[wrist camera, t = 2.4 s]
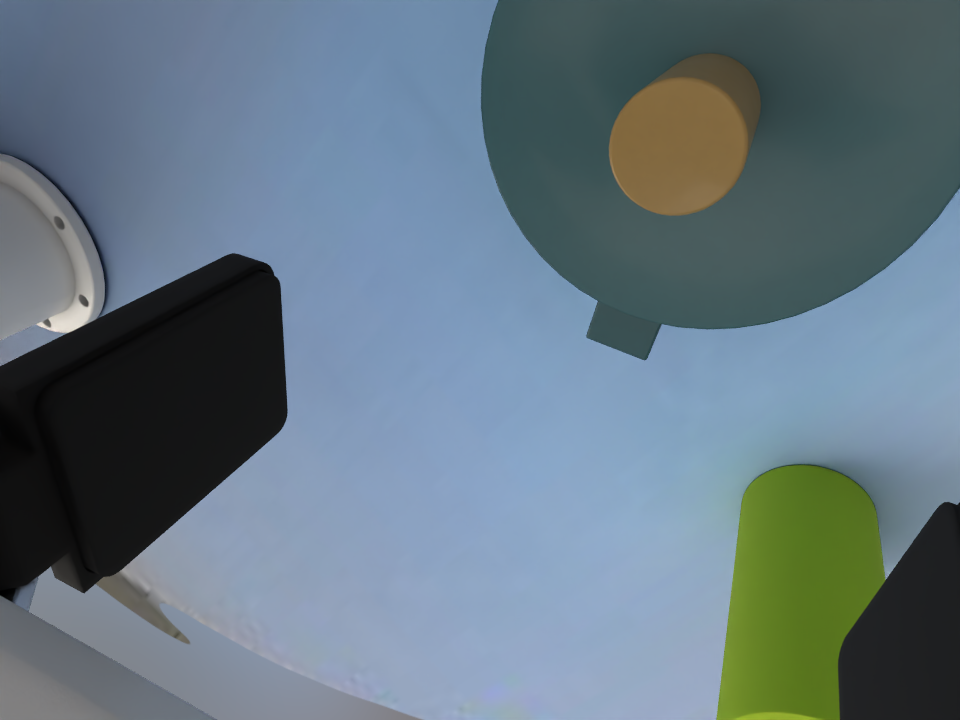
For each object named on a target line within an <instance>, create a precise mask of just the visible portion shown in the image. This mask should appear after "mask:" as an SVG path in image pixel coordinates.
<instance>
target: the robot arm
mask: <svg viewBox="0 0 960 720" xmlns="http://www.w3.org/2000/svg"><path fill="white" fill-rule="evenodd" d="M104 299H105V281H104V274H103V269H102V265H101V262H100V258H99V255H98V252H97V250H96V247H95V245H94V243H93V240H92V238H91V236H90V234H89V232H88V230H87V229H86V227H85V225H84V223H83V221H82V220H81V218H80V217H79V215H78V214H77V212H76V211H75V209H74V208H73V207H72V205H71V204H70V202H69V201H68V200H67V199H66V198H65V197H64V195H63V194H62V193H61V192H60V191H59V190H58V189H57V187H56V186H54V185H53V184H52V183H51V182H50V181H49V180H48V179H47V178H46V177H45V176H43V175H42V174H41V173H40V172H38V171H37V170H35V169H34V168H32V167H31V166H30V165H28V164H27V163H25V162H23V161H21V160H19V159H17V158H14V157H12V156H9V155H5V154H1V153H0V341H1V340H3V339H5V338H7V337H9V336H11V335H14V334H16V333H18V332H20V331H22V330H24V329H27V328H29V327H31V326H33V325H35V324H36V325H38V326H40V327H42V328H45V329H48V330H51V331H54V332H61V333H67V334H65V335H63V336H61V337H59V338H57V339H55V340H53V341H51V342H49V343H47V344H45V345H43V346H41V347H39V348H37V349H35V350H33V351H30V352H28V353H26V354H24V355H22V356H20V357H18V358H16V359H14V360H12V361H10V362H8V363H6V364H4V365H2V366H0V720H217V719H215V718H213V717H212V716H210V715H208V714H207V713H205V712H203V711H201V710H200V709H198V708H196V707H195V706H193V705H191V704H189V703H188V702H186V701H184V700H182V699H181V698H179V697H177V696H175V695H174V694H172V693H170V692H168V691H167V690H165V689H163V688H162V687H160V686H158V685H156V684H154V683H153V682H151V681H149V680H147V679H146V678H144V677H142V676H141V675H139V674H137V673H135V672H133V671H132V670H130V669H128V668H126V667H124V666H123V665H121V664H120V663H118V662H116V661H114V660H112V659H111V658H109V657H107V656H105V655H104V654H102V653H100V652H98V651H97V650H95V649H93V648H91V647H90V646H88V645H86V644H84V643H83V642H81V641H79V640H77V639H76V638H73V637H72V636H70V635H69V634H67V633H65V632H63V631H62V630H60V629H58V628H56V627H55V626H53V625H51V624H49V623H47V622H45V621H44V620H42V619H40V618H39V617H37V616H35V615H33V614H32V613H30V612H29V609H30V605H31V602H32V598H33V595H34V591H35V588H36V584H37V581H38V576H39V575H41V574H42V573H43V572H44V571H46V570H47V569H48V568H49V567H50V566H51V568H52V570H53V573H54V576H55V578H57V579H58V580H60V581H62V582H64V583H66V584H68V585H69V586H71V587H73V588H75V589H77V590H79V591H80V592H82V593H85V592H86V591H88V590H89V589H90V588H91V587H92V586H93V585H94V584H96V583H97V582H98V581H99V580H100V579H101V578H103V577H107V576H112V575H114V574H116V573H117V572H119V571H120V570H122V569H123V568H124V567H125V566H126V565H127V564H129V563H130V562H131V561H132V560H133V559H134V558H135V557H137V556H138V555H139V554H140V553H141V552H142V551H143V550H145V549H146V548H147V547H148V546H149V545H150V544H151V543H153V542H154V541H155V540H156V539H157V538H158V537H160V536H161V535H162V534H163V533H164V532H165V531H166V530H168V529H169V528H170V527H171V526H172V525H173V524H174V523H176V522H177V521H178V520H179V519H180V518H181V517H182V516H184V515H185V514H186V513H187V512H188V511H189V510H191V509H192V508H193V507H194V506H195V505H196V504H197V503H199V502H200V501H201V500H202V499H203V498H204V497H205V496H207V495H208V494H209V493H210V492H211V491H212V490H213V489H215V488H216V487H217V486H218V485H219V484H220V483H222V482H223V481H224V480H225V479H226V478H227V477H228V476H230V475H231V474H232V473H233V472H234V471H235V470H236V469H238V468H239V467H240V466H241V465H242V464H243V463H244V462H246V461H247V460H248V459H249V458H250V457H251V456H253V455H254V454H255V453H256V452H257V451H258V450H259V449H261V448H262V447H263V446H264V445H265V444H266V443H267V442H269V441H270V440H271V439H272V438H273V437H274V436H275V435H277V434H278V433H279V432H280V430H281V429H282V427H283V426H284V424H285V421H286V418H287V411H288V410H287V393H286V375H285V357H284V340H283V322H282V305H281V287H280V282H279V280H278V278H277V277H275V276H274V272H273V270H272V268H271V267H270V266H269V265H268V264H266V263H264V262H261V261H258V260H255V259H251V258H248V257H245V256H242V255H239V254H234V253H233V254H229V255H226V256H224V257H222V258H220V259H218V260H216V261H214V262H212V263H210V264H208V265H206V266H204V267H202V268H200V269H198V270H196V271H194V272H192V273H189V274H187V275H185V276H183V277H181V278H179V279H177V280H175V281H173V282H171V283H169V284H167V285H165V286H163V287H161V288H159V289H157V290H155V291H153V292H151V293H149V294H147V295H145V296H143V297H141V298H139V299H136V300H134V301H132V302H130V303H128V304H126V305H124V306H122V307H120V308H118V309H116V310H114V311H112V312H110V313H108V314H106V315H104V316H102V317H100V318H98V319H97V317H98V316H99V314H100V312H101V311H102V307H103V303H104ZM838 682H839V710H840V720H960V503H959V504H958V505H956V504H953V503H950V502H944V503H943V504H941V505H940V506H939V507H938V508H937V509H936V510H935V512H934V513H933V515H932V516H931V517H930V519H929V520H928V522H927V523H926V524H925V526H924V527H923V529H922V530H921V531H920V533H919V534H918V536H917V537H916V538H915V540H914V541H913V543H912V544H911V545H910V547H909V548H908V550H907V551H906V552H905V554H904V555H903V557H902V558H901V560H900V561H899V562H898V564H897V565H896V567H895V568H894V569H893V571H892V572H891V574H890V575H889V576H888V578H887V579H886V581H885V582H884V583H883V585H882V586H881V588H880V589H879V590H878V592H877V593H876V595H875V596H874V597H873V599H872V600H871V602H870V603H869V604H868V606H867V607H866V609H865V610H864V611H863V613H862V614H861V616H860V617H859V618H858V620H857V621H856V623H855V624H854V625H853V627H852V628H851V630H850V631H849V632H848V634H847V635H846V637H845V639H844V641H843V643H842V646H841V649H840V653H839V658H838Z"/></svg>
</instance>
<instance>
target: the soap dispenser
mask: <svg viewBox="0 0 960 720" xmlns="http://www.w3.org/2000/svg"><path fill="white" fill-rule="evenodd" d="M885 581H886V579H885V572H884V565H883V557H882V550H881V542H880V535H879V527H878V520H877V513H876V509H875V506H874V504H873V502H872V500H871V498H870V497H869V496H868V494H867V493H866V492H865V491H864V490H863V489H862V488H861V487H860V486H859V485H858V484H857V483H855V482H854V481H853V480H851V479H850V478H848V477H846V476H844V475H842V474H840V473H838V472H835V471H833V470H830V469H826V468H822V467H817V466H810V465H791V466H784V467H780V468H776V469H773V470H771V471H768V472H766V473H764V474H762V475H761V476H759V477H758V478H756V479H755V480H754V481H753V482H752V483H751V484H750V485H749V487H748V488H747V490H746V491H745V493H744V496H743V499H742V504H741V513H740V521H739V530H738V538H737V547H736V556H735V564H734V573H733V582H732V590H731V599H730V607H729V616H728V625H727V633H726V642H725V651H724V659H723V668H722V676H721V685H720V694H719V702H718V711H717V719H716V720H840V710H839V682H838V658H839V653H840V649H841V646H842V643H843V641H844V639H845V637H846V635H847V634H848V632H849V631H850V630H851V628H852V627H853V625H854V624H855V623H856V621H857V620H858V618H859V617H860V616H861V614H862V613H863V611H864V610H865V609H866V607H867V606H868V604H869V603H870V602H871V600H872V599H873V597H874V596H875V595H876V593H877V592H878V590H879V589H880V588H881V586H882V585H883V583H884V582H885Z"/></svg>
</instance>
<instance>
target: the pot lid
mask: <svg viewBox="0 0 960 720" xmlns="http://www.w3.org/2000/svg"><path fill="white" fill-rule="evenodd" d="M481 111H482V121H483V130H484V138H485V143H486V148H487V152H488V157H489V161H490V165H491V168H492V171H493V174H494V177H495V180H496V183H497V186H498V188H499V191H500V193H501V195H502V197H503V199H504V201H505V204H506V206H507V208H508V210H509V212H510V214H511V216H512V217H513V219H514V220H515V222H516V223H517V225H518V227H519V228H520V230H521V231H522V233H523V235H524V236H525V237H526V239H527V240H528V241H529V242H530V244H531V245H532V246H533V247H534V248H535V250H536V251H537V252H538V253H539V255H540V256H541V257H542V258H543V259H544V260H545V261H546V262H547V263H548V264H549V265H550V266H551V267H552V268H553V269H554V270H555V271H556V272H558V273H559V274H560V275H561V276H562V277H563V278H565V279H566V280H567V281H569V282H570V283H571V284H573V285H574V286H575V287H577V288H578V289H579V290H581V291H582V292H584V293H586V294H587V295H589V296H591V297H592V298H594V299H596V300H597V301H599V302H601V303H603V304H605V305H607V306H609V307H612V308H614V309H616V310H618V311H621V312H623V313H625V314H628V315H631V316H634V317H637V318H641V319H644V320H647V321H650V322H654V323H659V324H665V325H670V326H675V327H683V328H697V329H727V328H741V327H747V326H754V325H760V324H766V323H770V322H774V321H778V320H781V319H785V318H789V317H793V316H796V315H799V314H801V313H804V312H807V311H809V310H812V309H814V308H817V307H819V306H822V305H825V304H827V303H829V302H831V301H833V300H835V299H836V298H838V297H840V296H842V295H844V294H846V293H848V292H850V291H852V290H854V289H856V288H857V287H859V286H860V285H862V284H863V283H865V282H866V281H868V280H869V279H870V278H872V277H873V276H875V275H876V274H878V273H879V272H881V271H882V270H884V269H885V268H886V267H888V266H889V265H890V264H891V263H892V262H893V261H895V260H896V259H897V258H898V257H899V256H900V255H902V254H903V253H904V252H905V251H906V250H907V249H909V248H910V247H911V246H912V245H913V244H914V243H915V242H916V241H917V240H918V239H919V238H920V236H921V235H922V234H923V233H924V232H925V231H926V230H927V229H928V228H929V227H930V226H931V225H932V224H933V222H934V221H935V220H936V219H937V218H938V217H939V215H940V214H941V213H942V211H943V210H944V209H945V207H946V206H947V204H948V203H949V202H950V200H951V199H952V198H953V196H954V195H955V193H956V192H957V191H958V189H959V188H960V0H498V3H497V6H496V9H495V11H494V14H493V18H492V22H491V26H490V30H489V34H488V38H487V43H486V47H485V55H484V63H483V71H482V85H481Z"/></svg>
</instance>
